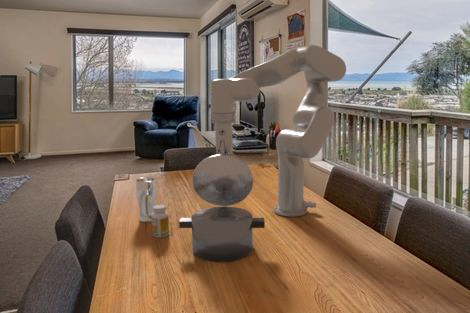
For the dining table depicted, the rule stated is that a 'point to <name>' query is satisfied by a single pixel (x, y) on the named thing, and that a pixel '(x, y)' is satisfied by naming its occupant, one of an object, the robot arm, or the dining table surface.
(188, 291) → the dining table surface
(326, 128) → the robot arm
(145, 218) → the beer glass
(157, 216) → the supplement bottle
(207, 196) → the cooker lid
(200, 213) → the cooking pot
